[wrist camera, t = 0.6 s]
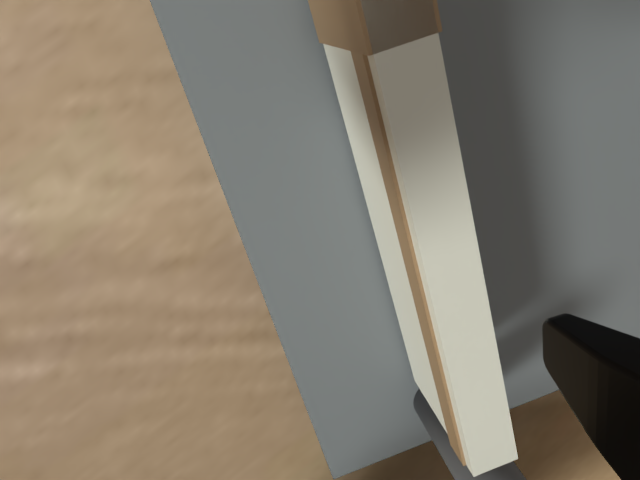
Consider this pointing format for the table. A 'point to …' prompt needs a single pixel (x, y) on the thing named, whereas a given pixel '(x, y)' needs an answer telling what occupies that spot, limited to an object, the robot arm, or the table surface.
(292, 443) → the table surface
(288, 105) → the board
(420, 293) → the gate
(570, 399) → the robot arm
